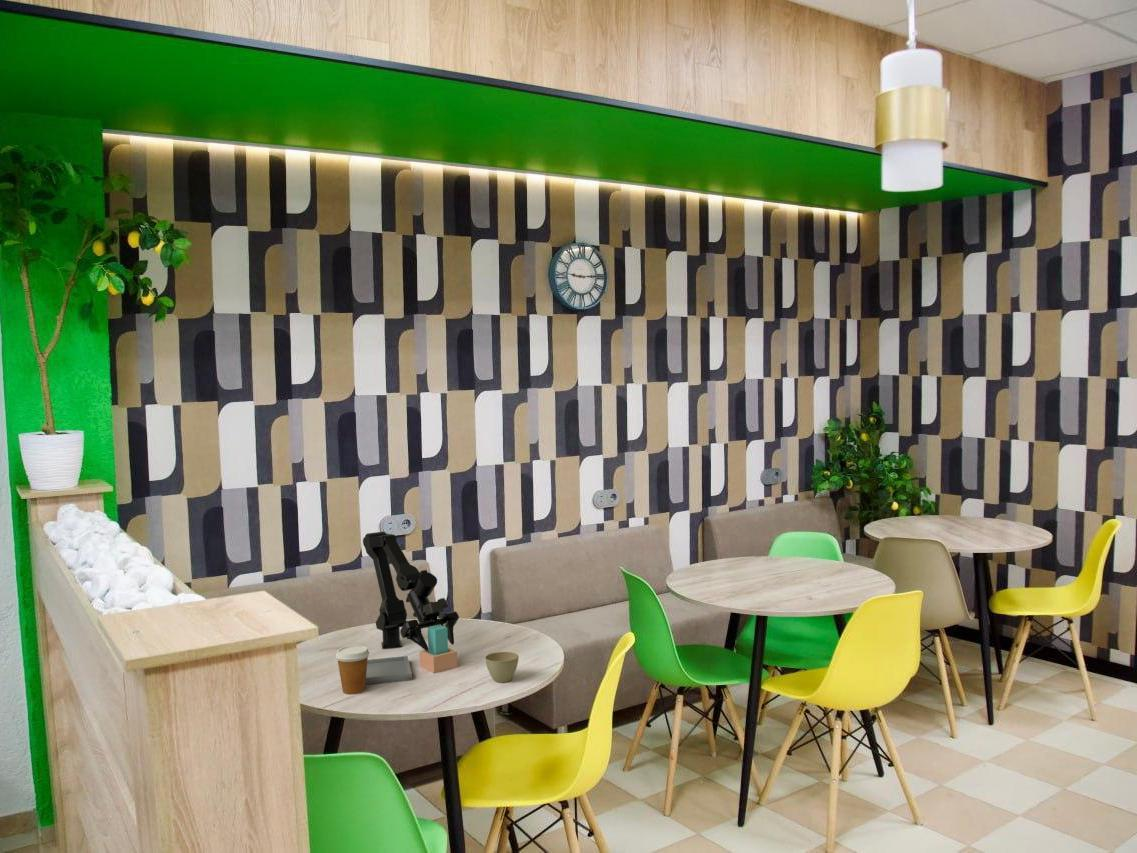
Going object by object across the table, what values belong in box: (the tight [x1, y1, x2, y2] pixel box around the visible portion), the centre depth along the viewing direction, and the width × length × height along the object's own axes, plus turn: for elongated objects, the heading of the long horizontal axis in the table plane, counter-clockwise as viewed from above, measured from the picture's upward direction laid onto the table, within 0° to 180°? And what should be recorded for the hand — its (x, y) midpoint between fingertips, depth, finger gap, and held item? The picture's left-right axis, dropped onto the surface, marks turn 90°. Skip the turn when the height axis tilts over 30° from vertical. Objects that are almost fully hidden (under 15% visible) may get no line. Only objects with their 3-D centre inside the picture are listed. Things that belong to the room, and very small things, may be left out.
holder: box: [419, 647, 458, 674], centre depth 285 cm, size 8×8×5 cm
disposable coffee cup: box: [335, 645, 370, 695], centre depth 265 cm, size 10×10×12 cm
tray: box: [365, 655, 413, 686], centre depth 280 cm, size 18×16×2 cm
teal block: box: [427, 625, 449, 655], centre depth 285 cm, size 4×4×12 cm
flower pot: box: [484, 651, 519, 683], centre depth 271 cm, size 10×10×7 cm
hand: (440, 647), depth 283 cm, fingers open, 9 cm apart
